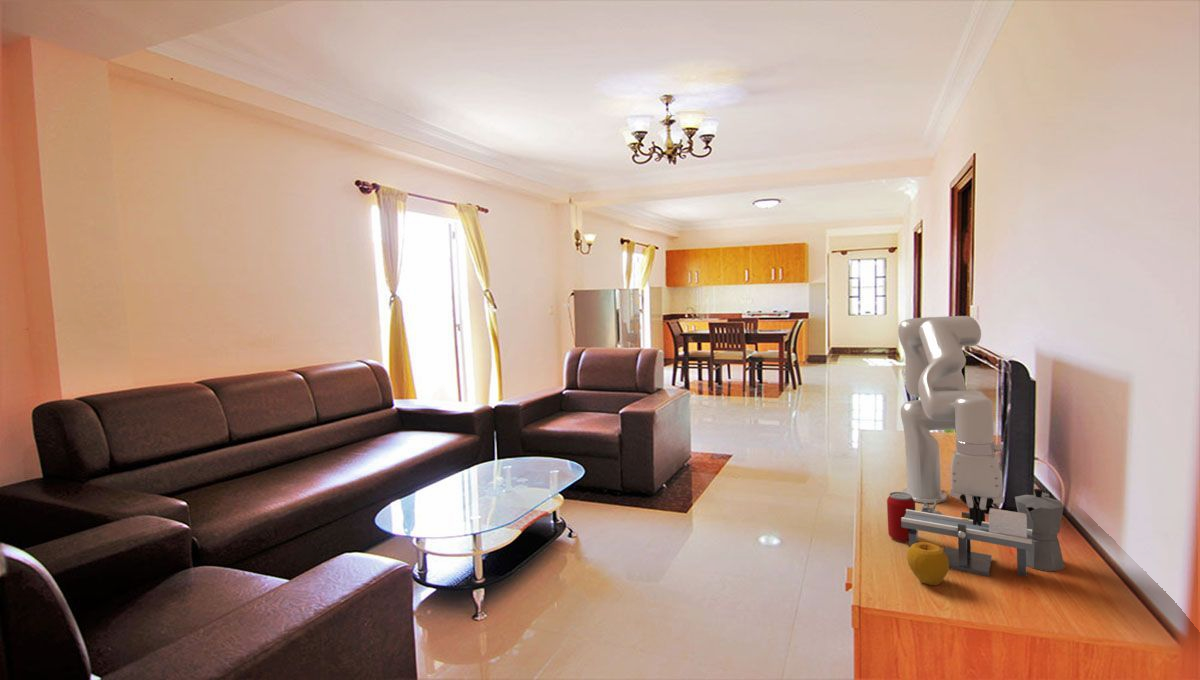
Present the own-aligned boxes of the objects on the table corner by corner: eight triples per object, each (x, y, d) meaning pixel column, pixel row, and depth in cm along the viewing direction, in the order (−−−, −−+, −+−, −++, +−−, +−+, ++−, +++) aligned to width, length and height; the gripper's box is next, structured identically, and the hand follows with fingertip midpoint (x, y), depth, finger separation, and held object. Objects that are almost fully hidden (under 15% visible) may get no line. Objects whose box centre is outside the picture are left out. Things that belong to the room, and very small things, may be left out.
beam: (906, 517, 144) (906, 508, 144) (1032, 539, 128) (1032, 528, 128) (901, 527, 139) (901, 517, 139) (1031, 550, 122) (1031, 540, 122)
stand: (914, 543, 145) (912, 503, 145) (1026, 565, 131) (1025, 520, 130) (906, 560, 137) (904, 517, 136) (1026, 585, 122) (1024, 537, 121)
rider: (990, 528, 131) (990, 508, 131) (1027, 534, 127) (1027, 513, 127) (989, 535, 128) (988, 514, 128) (1026, 541, 124) (1026, 520, 123)
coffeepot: (1056, 579, 124) (1054, 501, 123) (1006, 565, 131) (1004, 491, 130) (1075, 556, 133) (1074, 484, 132) (1028, 545, 140) (1026, 476, 139)
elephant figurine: (951, 536, 149) (915, 518, 154) (947, 544, 153) (913, 527, 158) (964, 506, 153) (929, 490, 158) (960, 515, 157) (926, 499, 162)
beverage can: (920, 543, 145) (918, 499, 144) (893, 543, 147) (891, 499, 146) (911, 533, 152) (909, 490, 151) (885, 532, 153) (883, 491, 152)
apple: (901, 572, 131) (899, 536, 131) (939, 572, 130) (938, 536, 130) (915, 590, 123) (914, 552, 123) (956, 591, 122) (955, 552, 121)
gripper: (1014, 447, 128) (1017, 524, 129) (940, 441, 138) (943, 512, 139) (1013, 455, 123) (1016, 535, 124) (936, 448, 132) (939, 522, 133)
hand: (977, 523), depth 131 cm, fingers closed
